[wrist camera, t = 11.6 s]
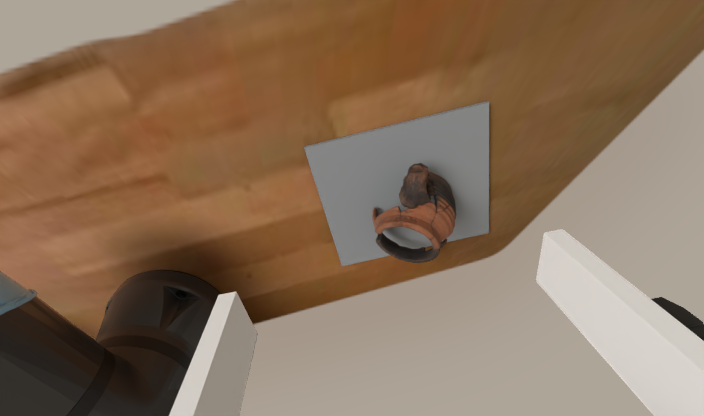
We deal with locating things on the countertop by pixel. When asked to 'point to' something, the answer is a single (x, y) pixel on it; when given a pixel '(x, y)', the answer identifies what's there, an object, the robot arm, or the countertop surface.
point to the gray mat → (402, 177)
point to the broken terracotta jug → (419, 214)
